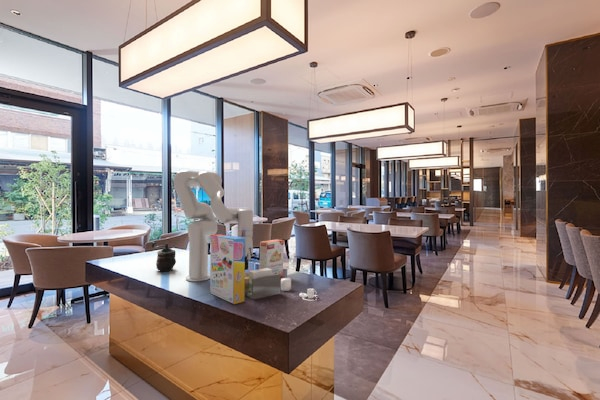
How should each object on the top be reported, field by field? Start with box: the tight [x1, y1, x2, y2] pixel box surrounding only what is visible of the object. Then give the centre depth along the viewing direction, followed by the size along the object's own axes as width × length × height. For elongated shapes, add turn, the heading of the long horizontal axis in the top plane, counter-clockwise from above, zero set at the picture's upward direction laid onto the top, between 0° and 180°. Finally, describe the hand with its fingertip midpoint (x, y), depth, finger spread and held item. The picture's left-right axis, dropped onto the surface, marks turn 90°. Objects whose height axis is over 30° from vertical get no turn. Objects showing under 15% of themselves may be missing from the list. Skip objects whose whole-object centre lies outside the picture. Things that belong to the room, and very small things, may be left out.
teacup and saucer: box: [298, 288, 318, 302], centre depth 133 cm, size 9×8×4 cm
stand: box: [245, 272, 281, 300], centre depth 141 cm, size 20×14×9 cm
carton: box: [248, 268, 272, 292], centre depth 138 cm, size 9×10×4 cm
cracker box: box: [259, 238, 285, 278], centre depth 164 cm, size 14×6×21 cm, turn 144°
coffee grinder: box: [151, 241, 177, 272], centre depth 178 cm, size 13×15×18 cm
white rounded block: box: [280, 277, 292, 292], centre depth 144 cm, size 5×5×5 cm
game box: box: [209, 233, 246, 305], centre depth 131 cm, size 21×6×27 cm, turn 44°
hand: (244, 269), depth 150 cm, fingers closed
